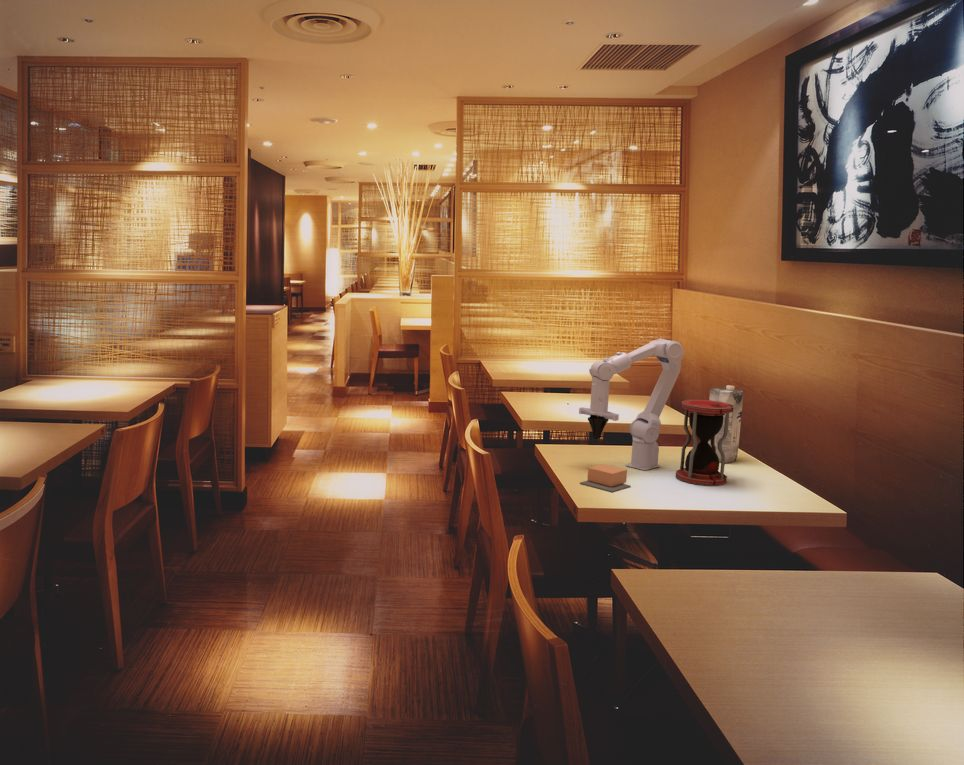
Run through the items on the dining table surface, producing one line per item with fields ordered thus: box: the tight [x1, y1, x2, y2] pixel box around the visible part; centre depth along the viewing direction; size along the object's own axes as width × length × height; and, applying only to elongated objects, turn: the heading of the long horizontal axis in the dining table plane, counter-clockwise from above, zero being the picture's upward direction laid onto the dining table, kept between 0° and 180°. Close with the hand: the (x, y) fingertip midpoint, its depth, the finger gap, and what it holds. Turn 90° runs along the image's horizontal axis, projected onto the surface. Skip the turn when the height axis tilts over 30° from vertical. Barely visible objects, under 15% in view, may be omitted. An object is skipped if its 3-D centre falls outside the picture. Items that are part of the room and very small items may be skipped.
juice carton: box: [708, 385, 744, 464], centre depth 300 cm, size 9×10×27 cm
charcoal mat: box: [579, 479, 632, 493], centre depth 261 cm, size 10×12×1 cm
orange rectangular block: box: [587, 463, 628, 487], centre depth 262 cm, size 4×9×8 cm
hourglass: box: [675, 399, 733, 487], centre depth 272 cm, size 16×16×25 cm
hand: (596, 438), depth 279 cm, fingers closed
